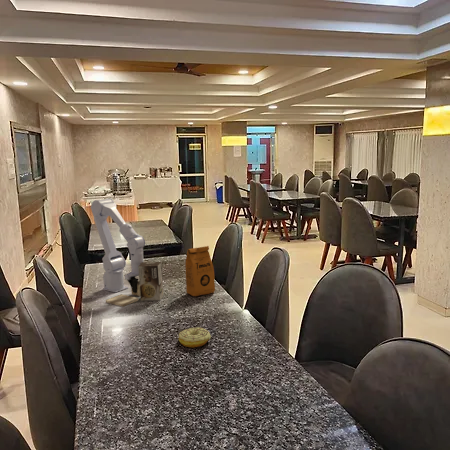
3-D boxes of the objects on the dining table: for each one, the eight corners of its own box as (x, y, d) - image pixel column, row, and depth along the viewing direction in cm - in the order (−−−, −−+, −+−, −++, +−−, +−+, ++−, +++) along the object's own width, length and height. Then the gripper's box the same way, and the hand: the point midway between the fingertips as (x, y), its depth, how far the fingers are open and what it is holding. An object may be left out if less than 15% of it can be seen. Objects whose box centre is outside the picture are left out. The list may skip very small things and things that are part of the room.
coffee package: (217, 294, 187) (216, 247, 183) (192, 299, 181) (190, 250, 177) (208, 288, 195) (206, 243, 192) (184, 292, 190) (182, 246, 186)
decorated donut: (216, 341, 140) (216, 330, 139) (193, 352, 132) (193, 341, 131) (195, 332, 147) (195, 322, 146) (172, 343, 139) (172, 332, 138)
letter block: (131, 294, 190) (131, 283, 189) (139, 291, 194) (138, 280, 193) (139, 295, 187) (138, 285, 186) (147, 292, 191) (146, 282, 191)
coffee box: (163, 296, 186) (161, 261, 184) (160, 300, 180) (158, 265, 177) (144, 295, 187) (142, 261, 185) (140, 300, 181) (137, 265, 178)
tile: (105, 302, 180) (105, 300, 180) (121, 296, 187) (121, 294, 187) (123, 306, 174) (123, 304, 174) (138, 300, 181) (138, 298, 181)
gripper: (131, 267, 180) (133, 296, 182) (154, 259, 192) (156, 287, 194) (120, 265, 184) (122, 293, 186) (143, 258, 196) (145, 285, 198)
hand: (139, 290), depth 191 cm, fingers closed on letter block, 5 cm apart
